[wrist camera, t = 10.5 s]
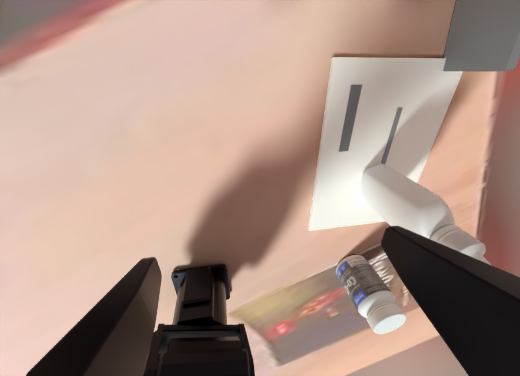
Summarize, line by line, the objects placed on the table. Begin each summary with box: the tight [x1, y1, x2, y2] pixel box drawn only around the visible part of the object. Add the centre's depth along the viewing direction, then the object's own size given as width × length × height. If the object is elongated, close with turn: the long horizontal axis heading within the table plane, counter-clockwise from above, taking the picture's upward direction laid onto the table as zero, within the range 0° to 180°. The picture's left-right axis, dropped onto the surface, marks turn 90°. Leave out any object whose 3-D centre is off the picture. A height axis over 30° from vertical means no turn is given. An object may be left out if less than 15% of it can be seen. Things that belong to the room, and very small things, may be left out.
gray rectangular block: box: [443, 0, 520, 71], centre depth 15 cm, size 8×1×5 cm, turn 10°
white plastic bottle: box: [361, 163, 491, 265], centre depth 19 cm, size 4×6×12 cm
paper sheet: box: [308, 57, 463, 231], centre depth 22 cm, size 18×13×1 cm
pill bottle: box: [336, 255, 406, 334], centre depth 27 cm, size 5×5×8 cm
